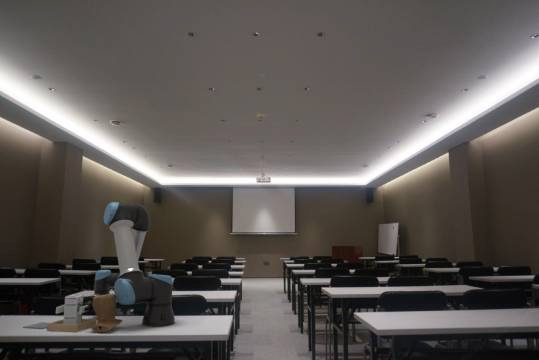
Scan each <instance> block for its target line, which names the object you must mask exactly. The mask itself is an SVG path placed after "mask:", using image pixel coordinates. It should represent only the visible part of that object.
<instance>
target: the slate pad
mask: <svg viewBox="0 0 539 360" xmlns="http://www.w3.org/2000/svg"><path fill="white" fill-rule="evenodd" d="M48 323H49V322H44V321H43V322H42V321H40V322H37V323H33V324H29V325H25V326H23V327H22V329H36V330H37V329H39V330H44V329H47V325H48Z"/></svg>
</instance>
